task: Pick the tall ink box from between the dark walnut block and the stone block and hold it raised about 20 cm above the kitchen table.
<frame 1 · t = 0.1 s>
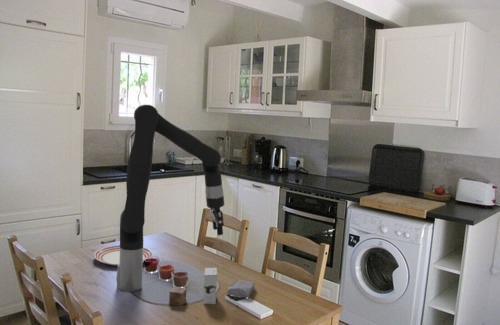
hand: (218, 232, 191), 22 cm above the table, tool pointing down, fingers open, 8 cm apart
ink box: (209, 300, 175), on the table
walnut block: (177, 302, 171), on the table
stone block: (240, 293, 184), on the table
dinner plate: (123, 260, 215), on the table
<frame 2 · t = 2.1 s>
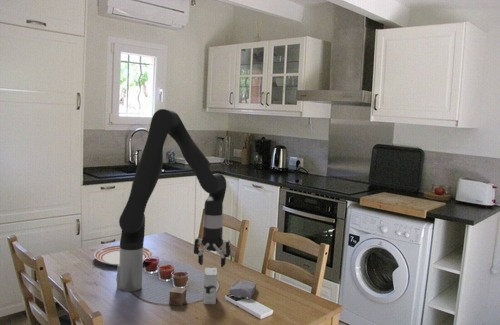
hand: (211, 265, 174), 14 cm above the table, tool pointing down, fingers open, 8 cm apart
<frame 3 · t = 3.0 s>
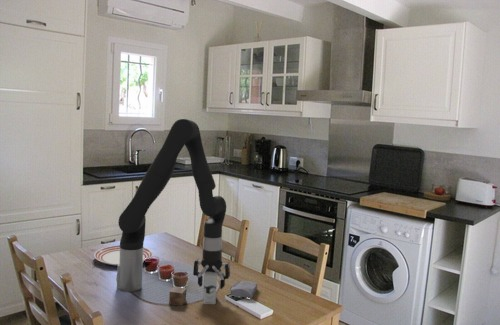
hand: (211, 287, 175), 5 cm above the table, tool pointing down, fingers open, 8 cm apart
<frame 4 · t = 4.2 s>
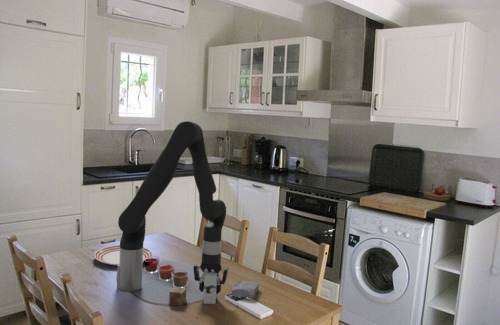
hand: (209, 292, 175), 3 cm above the table, tool pointing down, fingers closed on ink box, 5 cm apart
ink box: (209, 300, 175), on the table, touching gripper
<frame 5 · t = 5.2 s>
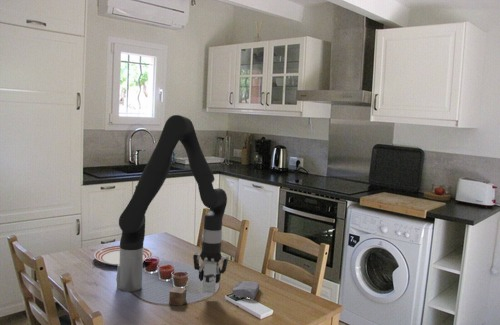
hand: (209, 281, 174), 8 cm above the table, tool pointing down, fingers closed on ink box, 5 cm apart
ink box: (208, 289, 174), point 4 cm above the table, touching gripper
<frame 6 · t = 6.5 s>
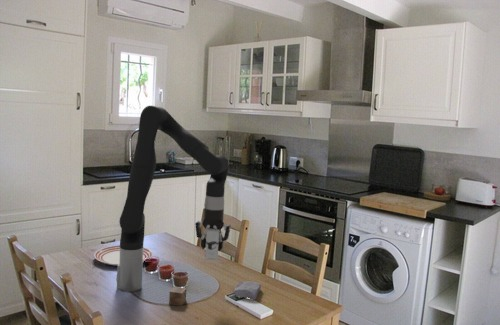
hand: (211, 249, 173), 21 cm above the table, tool pointing down, fingers closed on ink box, 5 cm apart
ink box: (211, 257, 173), point 17 cm above the table, touching gripper
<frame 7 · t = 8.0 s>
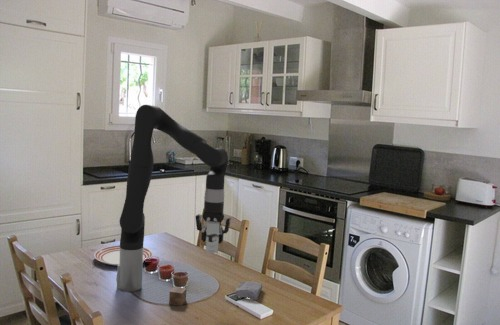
hand: (212, 242, 172), 23 cm above the table, tool pointing down, fingers closed on ink box, 5 cm apart
ink box: (211, 250, 173), point 20 cm above the table, touching gripper
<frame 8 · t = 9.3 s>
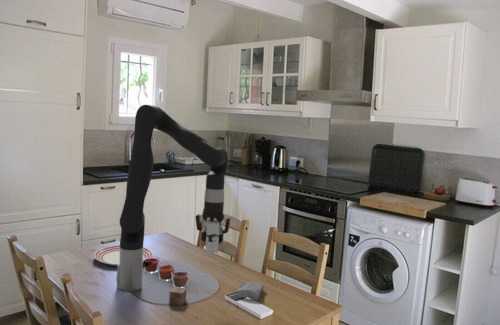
hand: (212, 242, 172), 23 cm above the table, tool pointing down, fingers closed on ink box, 5 cm apart
ink box: (211, 250, 173), point 20 cm above the table, touching gripper
at the end: the gripper is holding ink box; ink box point 20.1 cm above the table; walnut block moved 0.1 cm from its start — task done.
